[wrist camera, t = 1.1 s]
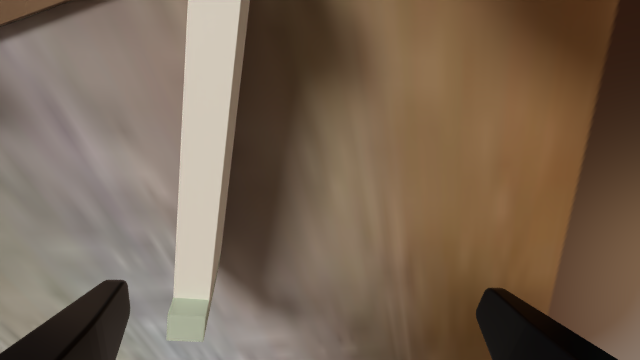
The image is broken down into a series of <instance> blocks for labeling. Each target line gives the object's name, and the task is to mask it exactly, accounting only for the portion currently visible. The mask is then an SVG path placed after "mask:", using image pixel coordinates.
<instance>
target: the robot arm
mask: <svg viewBox="0 0 640 360" xmlns="http://www.w3.org/2000/svg"><path fill="white" fill-rule="evenodd" d="M129 315H130V301H129V293H128V285H127V283H126V281H124V280H105V281H103V282H102V283H100V284H99V285H97V286H96V287H95V288H93V289H92V290H90V291H89V292H87V293H86V294H85V295H83V296H82V297H80V298H79V299H77V300H76V301H75V302H73V303H72V304H70V305H69V306H67V307H66V308H65V309H63V310H62V311H60V312H59V313H57V314H56V315H55V316H53V317H52V318H50V319H49V320H47V321H46V322H45V323H43V324H42V325H40V326H39V327H37V328H36V329H35V330H33V331H32V332H30V333H29V334H27V335H26V336H25V337H23V338H22V339H20V340H19V341H17V342H16V343H15V344H13V345H12V346H10V347H9V348H7V349H6V350H5V351H3V352H2V353H0V360H116V357H117V353H118V350H119V347H120V344H121V341H122V338H123V335H124V332H125V328H126V325H127V322H128V319H129ZM476 318H477V321H478V324H479V326H480V329H481V331H482V334H483V337H484V339H485V342H486V344H487V347H488V349H489V352H490V355H491V357H492V360H618V359H616V358H615V357H613V356H611V355H610V354H608V353H606V352H605V351H603V350H602V349H600V348H598V347H597V346H595V345H594V344H592V343H590V342H589V341H587V340H585V339H584V338H582V337H580V336H579V335H578V334H576V333H574V332H573V331H571V330H569V329H568V328H566V327H565V326H563V325H561V324H560V323H558V322H556V321H555V320H553V319H552V318H550V317H549V316H547V315H545V314H544V313H542V312H540V311H539V310H537V309H536V308H534V307H532V306H531V305H529V304H528V303H526V302H524V301H523V300H521V299H520V298H518V297H516V296H515V295H513V294H511V293H510V292H508V291H507V290H505V289H503V288H487V289H486V290H485V292H484V294H483V296H482V298H481V300H480V303H479V305H478V307H477V310H476Z"/></svg>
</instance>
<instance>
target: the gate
mask: <svg viewBox="0 0 640 360" xmlns="http://www.w3.org/2000/svg"><path fill="white" fill-rule="evenodd" d="M249 4H250V0H188V12H187V32H186V53H185V73H184V93H183V114H182V134H181V154H180V175H179V195H178V215H177V236H176V256H175V276H174V297H173V300H172V303H171V306H170V309H169V312H168V318H167V340H171V341H196V342H203V340H204V335H205V330H206V325H207V321H208V316H209V311H210V306H211V301H212V296H213V292H214V287H215V282H216V277H217V272H218V267H219V263H220V257H221V248H222V239H223V231H224V222H225V213H226V204H227V196H228V187H229V178H230V170H231V161H232V152H233V144H234V135H235V126H236V118H237V109H238V100H239V91H240V83H241V74H242V65H243V57H244V48H245V39H246V31H247V22H248V13H249Z"/></svg>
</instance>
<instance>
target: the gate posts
mask: <svg viewBox="0 0 640 360" xmlns="http://www.w3.org/2000/svg"><path fill="white" fill-rule="evenodd" d="M69 1H71V0H0V27H1V26H4V25H7V24H9V23H12V22H15V21H17V20H20V19H23V18H25V17H28V16H31V15H34V14H36V13H39V12H42V11H44V10H47V9H50V8H52V7H55V6H58V5H61V4H63V3H66V2H69Z"/></svg>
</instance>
